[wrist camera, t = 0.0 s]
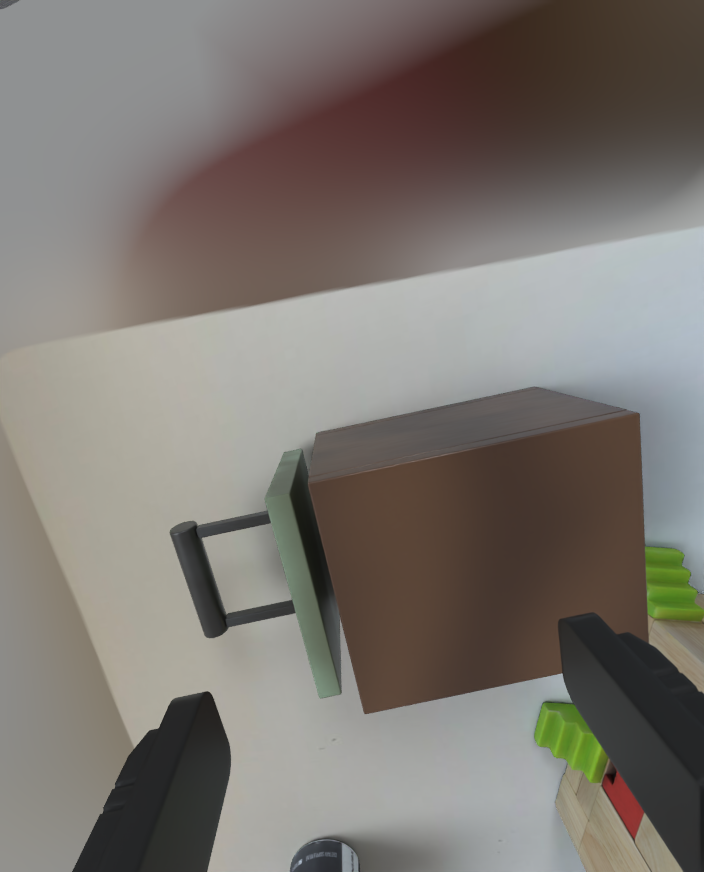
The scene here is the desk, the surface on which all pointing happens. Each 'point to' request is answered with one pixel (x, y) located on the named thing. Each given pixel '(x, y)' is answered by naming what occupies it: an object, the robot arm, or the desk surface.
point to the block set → (587, 761)
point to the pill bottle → (325, 858)
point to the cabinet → (479, 539)
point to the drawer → (301, 568)
